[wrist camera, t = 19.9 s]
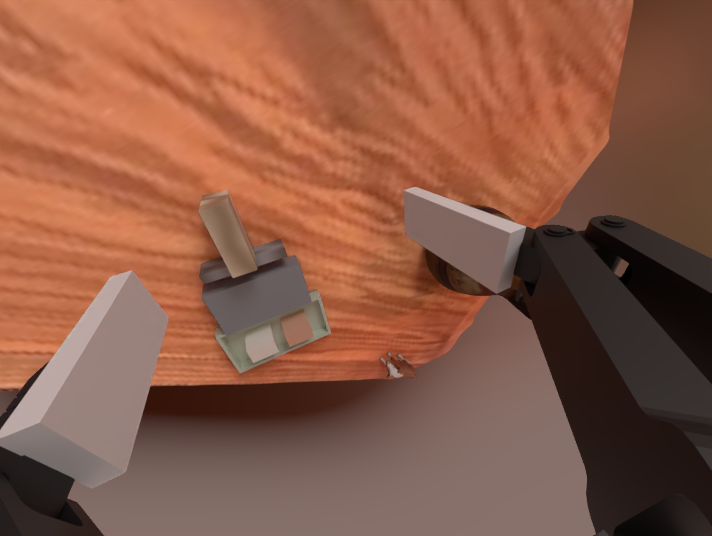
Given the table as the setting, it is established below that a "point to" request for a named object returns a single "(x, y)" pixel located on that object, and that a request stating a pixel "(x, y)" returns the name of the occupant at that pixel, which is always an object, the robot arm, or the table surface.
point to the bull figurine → (399, 367)
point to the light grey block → (261, 343)
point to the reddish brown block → (296, 328)
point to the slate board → (257, 295)
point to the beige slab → (232, 240)
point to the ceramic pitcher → (465, 283)
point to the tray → (236, 341)
